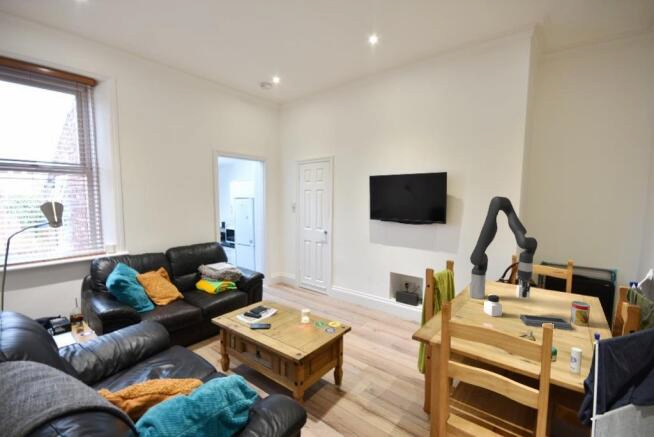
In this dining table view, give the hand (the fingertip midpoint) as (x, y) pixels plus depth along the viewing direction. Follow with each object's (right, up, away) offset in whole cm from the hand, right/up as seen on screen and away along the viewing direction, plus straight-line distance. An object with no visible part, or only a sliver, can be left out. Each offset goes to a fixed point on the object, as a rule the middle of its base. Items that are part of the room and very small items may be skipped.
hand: (522, 295), depth 181 cm
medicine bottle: (-18, -12, +2) cm, 22 cm away
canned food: (+25, -13, -12) cm, 31 cm away
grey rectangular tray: (+4, -13, -12) cm, 18 cm away
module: (0, -1, 0) cm, 1 cm away
